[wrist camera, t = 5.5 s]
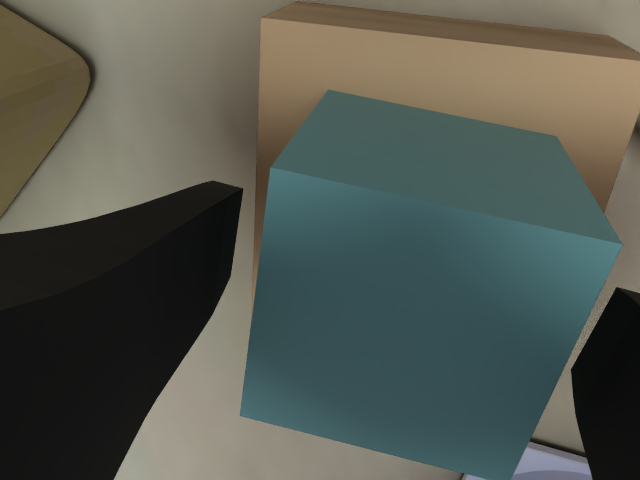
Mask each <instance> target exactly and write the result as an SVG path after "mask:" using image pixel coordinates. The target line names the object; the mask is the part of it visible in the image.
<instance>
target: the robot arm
mask: <svg viewBox="0 0 640 480" xmlns="http://www.w3.org/2000/svg"><path fill="white" fill-rule="evenodd" d="M242 194H243V188H239V187H235V186H231V185H228V184H224V183H220V182H216V181H209V182H205V183H202V184H198V185H195V186H192V187H189V188H186V189H183V190H181V191H178V192H175V193H172V194H169V195H166V196H163V197H160V198H157V199H155V200H152V201H149V202H146V203H143V204H140V205H136V206H133V207H130V208H126V209H123V210H119V211H116V212H112V213H109V214H105V215H102V216H99V217H95V218H91V219H87V220H83V221H78V222H74V223H69V224H64V225H59V226H54V227H48V228H43V229H37V230H31V231H23V232H15V233H6V234H0V480H114V478H115V476H116V474H117V472H118V470H119V468H120V466H121V464H122V462H123V460H124V458H125V456H126V454H127V452H128V450H129V448H130V446H131V444H132V442H133V440H134V439H135V437H136V435H137V433H138V431H139V429H140V427H141V425H142V423H143V421H144V419H145V417H146V416H147V414H148V412H149V411H150V409H151V408H152V406H153V404H154V403H155V401H156V399H157V398H158V396H159V395H160V393H161V392H162V390H163V389H164V387H165V386H166V384H167V383H168V381H169V380H170V378H171V377H172V375H173V374H174V372H175V371H176V369H177V368H178V366H179V365H180V363H181V362H182V360H183V359H184V357H185V356H186V354H187V353H188V351H189V350H190V348H191V347H192V345H193V344H194V342H195V341H196V339H197V338H198V336H199V335H200V333H201V332H202V330H203V329H204V327H205V325H206V324H207V322H208V321H209V319H210V318H211V316H212V315H213V312H214V310H215V308H216V306H217V304H218V302H219V300H220V298H221V296H222V294H223V292H224V289H225V287H226V285H227V283H228V281H229V279H230V276H231V270H232V263H233V256H234V249H235V242H236V235H237V228H238V221H239V215H240V208H241V201H242ZM571 375H572V387H573V398H574V406H575V414H576V419H577V423H578V427H579V431H580V435H581V439H582V443H583V446H584V450H585V454H586V458H585V457H582V456H578V455H575V454H571V453H568V452H564V451H560V450H557V449H553V448H550V447H546V446H543V445H539V444H536V443H532V442H529V443H528V445H527V447H526V449H525V451H524V453H523V456H522V458H521V460H520V462H519V464H518V466H517V468H516V470H515V472H514V474H513V477H512V479H511V480H640V293H637V292H633V291H629V290H626V289H622V288H618V287H616V289H615V291H614V293H613V295H612V296H611V298H610V300H609V302H608V304H607V306H606V307H605V309H604V311H603V313H602V315H601V316H600V318H599V320H598V322H597V324H596V325H595V327H594V329H593V331H592V333H591V334H590V336H589V338H588V340H587V342H586V344H585V345H584V347H583V349H582V351H581V353H580V354H579V356H578V358H577V360H576V362H575V363H574V365H573V367H572V369H571ZM462 480H487V479H483V478H479V477H475V476H471V475H468V474H464V476H463V478H462Z"/></svg>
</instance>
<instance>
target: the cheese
mask: <svg viewBox="0 0 640 480" xmlns="http://www.w3.org/2000/svg"><path fill="white" fill-rule="evenodd" d="M89 84H90V73H89V67H88V66H87V64H86V63H85V61H84V60H83V58H82V57H81V56H80V55H78V54H77V53H76V52H75V51H74V50H72V49H71V48H70V47H68V46H67V45H65V44H64V43H62V42H61V41H59V40H57V39H56V38H54V37H53V36H51V35H49V34H48V33H46V32H45V31H43V30H41V29H40V28H38V27H36V26H35V25H33V24H32V23H30V22H28V21H27V20H25V19H23V18H22V17H20V16H18V15H17V14H15V13H13V12H12V11H10V10H8V9H7V8H5V7H4V6H2V5H0V217H1V216H2V214H3V213H4V212H5V210H6V209H7V208H8V206H9V205H10V204H11V202H12V201H13V199H14V198H15V197H16V195H17V194H18V193H19V191H20V190H21V189H22V187H23V186H24V185H25V183H26V182H27V181H28V179H29V178H30V176H31V175H32V174H33V172H34V171H35V170H36V168H37V167H38V166H39V164H40V163H41V162H42V160H43V159H44V157H45V156H46V155H47V153H48V152H49V151H50V149H51V148H52V147H53V145H54V144H55V143H56V141H57V140H58V138H59V137H60V136H61V134H62V133H63V132H64V130H65V129H66V127H67V126H68V124H69V123H70V121H71V120H72V118H73V117H74V115H75V114H76V112H77V111H78V109H79V107H80V105H81V104H82V102H83V100H84V98H85V96H86V94H87V91H88V87H89Z"/></svg>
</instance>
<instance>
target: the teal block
mask: <svg viewBox="0 0 640 480" xmlns="http://www.w3.org/2000/svg"><path fill="white" fill-rule="evenodd" d="M622 245H623V244H622V242H621V241H620V239H619V238H618V236H617V234H616V233H615V231H614V229H613V228H612V226H611V224H610V223H609V221H608V220H607V218H606V216H605V215H604V213H603V211H602V210H601V208H600V206H599V205H598V203H597V201H596V200H595V198H594V197H593V195H592V193H591V192H590V190H589V188H588V187H587V185H586V183H585V182H584V180H583V178H582V177H581V175H580V174H579V172H578V170H577V169H576V167H575V165H574V164H573V162H572V160H571V159H570V157H569V155H568V154H567V152H566V151H565V149H564V147H563V146H562V144H561V142H560V141H559V139H558V137H557V136H553V135H548V134H543V133H538V132H533V131H529V130H524V129H519V128H514V127H509V126H504V125H499V124H494V123H490V122H485V121H480V120H475V119H470V118H465V117H460V116H455V115H451V114H446V113H441V112H436V111H431V110H426V109H421V108H416V107H412V106H407V105H402V104H397V103H392V102H387V101H382V100H377V99H373V98H368V97H363V96H358V95H353V94H348V93H343V92H338V91H334V90H329V89H328V90H327V92H326V93H325V94H324V96H323V97H322V99H321V100H320V101H319V103H318V104H317V105H316V107H315V108H314V109H313V111H312V112H311V113H310V115H309V116H308V117H307V119H306V120H305V121H304V123H303V124H302V126H301V127H300V128H299V130H298V131H297V132H296V134H295V135H294V136H293V138H292V139H291V140H290V142H289V143H288V144H287V146H286V147H285V148H284V150H283V151H282V153H281V154H280V155H279V157H278V158H277V159H276V161H275V162H274V163H273V165H272V166H271V167H270V176H269V184H268V192H267V200H266V208H265V216H264V224H263V232H262V240H261V248H260V257H259V265H258V273H257V281H256V289H255V297H254V305H253V313H252V321H251V329H250V338H249V346H248V354H247V362H246V370H245V378H244V386H243V394H242V402H241V410H240V416H242V417H246V418H250V419H254V420H258V421H262V422H266V423H270V424H274V425H277V426H281V427H285V428H289V429H293V430H297V431H301V432H305V433H308V434H312V435H316V436H320V437H324V438H328V439H332V440H336V441H339V442H343V443H347V444H351V445H355V446H359V447H363V448H367V449H371V450H374V451H378V452H382V453H386V454H390V455H394V456H398V457H402V458H405V459H409V460H413V461H417V462H421V463H425V464H429V465H433V466H436V467H440V468H444V469H448V470H452V471H456V472H460V473H464V474H468V475H471V476H475V477H479V478H483V479H487V480H511V479H512V477H513V474H514V472H515V470H516V468H517V466H518V464H519V462H520V460H521V458H522V456H523V453H524V451H525V449H526V447H527V445H528V443H529V441H530V439H531V437H532V434H533V432H534V430H535V428H536V426H537V424H538V422H539V420H540V418H541V416H542V413H543V411H544V409H545V407H546V405H547V403H548V401H549V399H550V397H551V394H552V392H553V390H554V388H555V386H556V384H557V382H558V380H559V378H560V376H561V373H562V371H563V369H564V367H565V365H566V363H567V361H568V359H569V357H570V354H571V352H572V350H573V348H574V346H575V344H576V342H577V340H578V338H579V335H580V333H581V331H582V329H583V327H584V325H585V323H586V321H587V319H588V317H589V314H590V312H591V310H592V308H593V306H594V304H595V302H596V300H597V298H598V295H599V293H600V291H601V289H602V287H603V285H604V283H605V281H606V279H607V277H608V274H609V272H610V270H611V268H612V266H613V264H614V262H615V260H616V258H617V255H618V253H619V251H620V249H621V247H622Z"/></svg>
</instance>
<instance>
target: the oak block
mask: <svg viewBox="0 0 640 480" xmlns="http://www.w3.org/2000/svg"><path fill="white" fill-rule="evenodd" d="M328 89H329V90H334V91H338V92H343V93H348V94H353V95H358V96H363V97H368V98H373V99H377V100H382V101H387V102H392V103H397V104H402V105H407V106H412V107H416V108H421V109H426V110H431V111H436V112H441V113H446V114H451V115H455V116H460V117H465V118H470V119H475V120H480V121H485V122H490V123H494V124H499V125H504V126H509V127H514V128H519V129H524V130H529V131H533V132H538V133H543V134H548V135H553V136H557V137H558V139H559V141H560V142H561V144H562V146H563V147H564V149H565V151H566V152H567V154H568V155H569V157H570V159H571V160H572V162H573V164H574V165H575V167H576V169H577V170H578V172H579V174H580V175H581V177H582V178H583V180H584V182H585V183H586V185H587V187H588V188H589V190H590V192H591V193H592V195H593V197H594V198H595V200H596V201H597V203H598V205H599V206H600V208H601V210H602V211H603V213H604V211H605V208H606V205H607V202H608V199H609V197H610V194H611V191H612V188H613V185H614V183H615V180H616V177H617V174H618V171H619V168H620V166H621V163H622V160H623V157H624V154H625V151H626V149H627V146H628V143H629V140H630V137H631V134H632V132H633V129H634V126H635V123H636V120H637V117H638V115H639V112H640V53H638V52H637V51H635V50H633V49H631V48H630V47H628V46H626V45H624V44H623V43H621V42H619V41H617V40H616V39H614V38H612V37H610V36H608V35H599V34H589V33H580V32H571V31H562V30H553V29H544V28H535V27H526V26H517V25H508V24H499V23H490V22H481V21H471V20H462V19H453V18H444V17H435V16H426V15H417V14H408V13H399V12H390V11H381V10H372V9H363V8H354V7H344V6H335V5H326V4H317V3H308V2H299V1H297V2H295V3H293V4H291V5H288V6H286V7H284V8H282V9H279V10H277V11H275V12H273V13H270V14H268V15H266V16H264V17H262V18H261V37H260V69H259V101H258V133H257V164H256V196H255V228H254V260H253V291H252V313H253V305H254V297H255V289H256V281H257V273H258V265H259V257H260V248H261V240H262V232H263V224H264V216H265V208H266V200H267V192H268V184H269V176H270V167H271V166H272V165H273V163H274V162H275V161H276V159H277V158H278V157H279V155H280V154H281V153H282V151H283V150H284V148H285V147H286V146H287V144H288V143H289V142H290V140H291V139H292V138H293V136H294V135H295V134H296V132H297V131H298V130H299V128H300V127H301V126H302V124H303V123H304V121H305V120H306V119H307V117H308V116H309V115H310V113H311V112H312V111H313V109H314V108H315V107H316V105H317V104H318V103H319V101H320V100H321V99H322V97H323V96H324V94H325V93H326V92H327V90H328Z"/></svg>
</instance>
